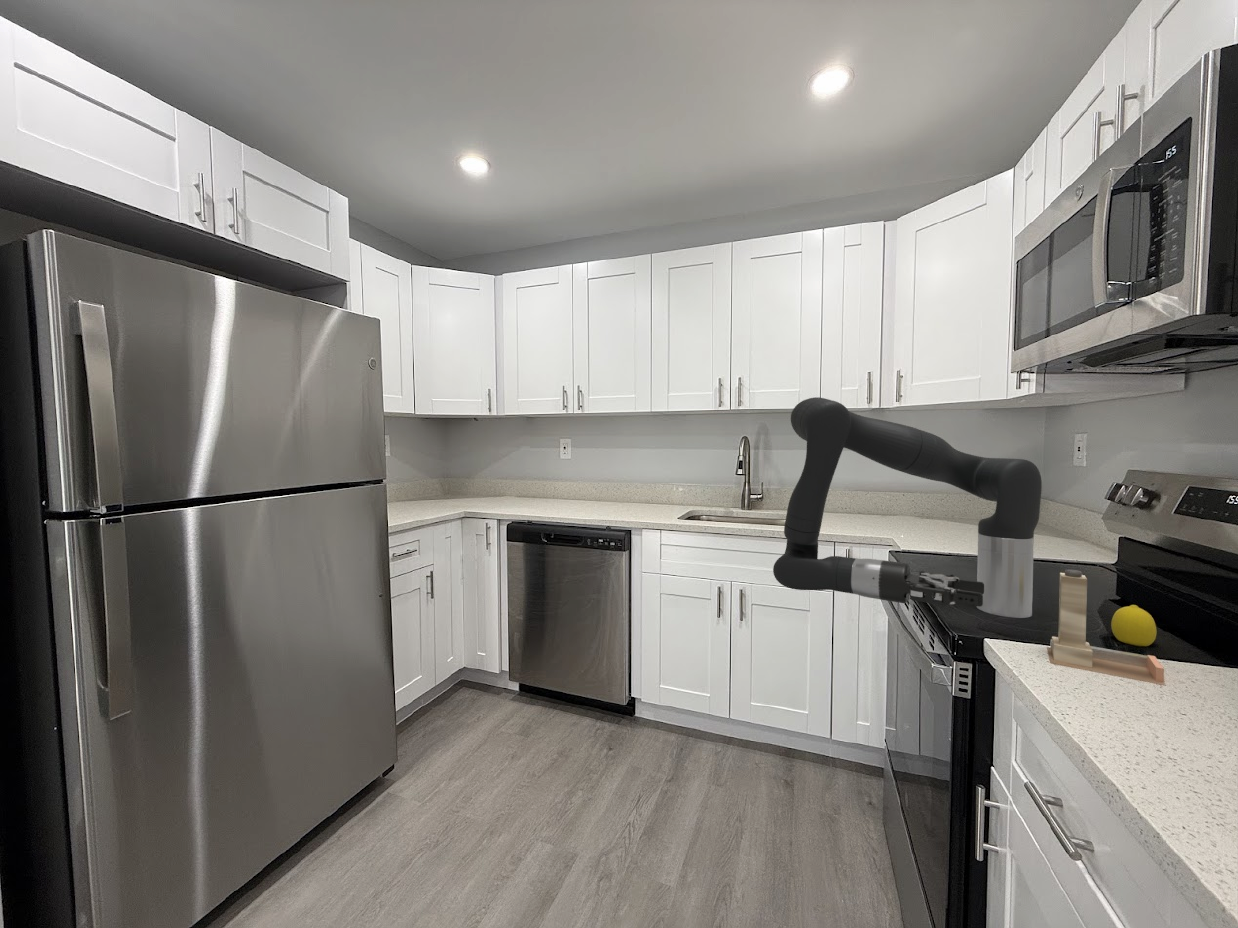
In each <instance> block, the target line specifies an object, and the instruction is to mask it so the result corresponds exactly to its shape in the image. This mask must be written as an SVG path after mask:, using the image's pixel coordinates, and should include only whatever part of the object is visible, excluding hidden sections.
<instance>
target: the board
mask: <svg viewBox="0 0 1238 928" xmlns="http://www.w3.org/2000/svg"><path fill="white" fill-rule="evenodd" d="M1046 650H1047V655H1048V656H1047V657H1048V659H1049V660H1048V661H1049V663H1050V664H1052V665H1057V666H1062V667H1067V668H1073V669H1077V670H1078V669H1079V670H1083V671H1089V672H1093V673H1098V674H1103V675H1107V676H1114V677H1119V678H1124V679H1130V680H1134V681H1138V682H1139V681H1140V682H1146V683H1150V684H1154V685H1155V684H1156V685H1158V686H1159V685H1160V686H1167V685H1166V684H1165V681H1164V682H1160V681H1156V680H1155V679H1154V677H1153V676H1152V674H1151V673H1150V671H1149V670H1148V668H1146V667H1141V666H1135V665H1130V664H1124V663H1119V662H1113V661H1108V660H1102V659H1097V658H1092V667H1087V666H1082V665H1077V664H1071V663H1066V662H1061V661H1055V660H1054V658H1053V655H1052V650H1051V648H1050V647H1048V646H1046Z"/></svg>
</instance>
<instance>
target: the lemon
mask: <svg viewBox="0 0 1238 928" xmlns="http://www.w3.org/2000/svg"><path fill="white" fill-rule="evenodd" d="M1110 624H1111V631H1112V633H1113V636H1114V637H1115V638H1116V640H1118V642H1122V643H1125V644H1127V645H1131V646H1137V647H1149V646H1150V645H1152V644H1153V643H1154V641H1155V640H1156V638H1157V624H1156V622H1155V620H1154V618H1153V617H1152V615H1151V614H1150V613H1149V612H1148V611H1147V610H1144V609H1143V608H1141V607H1139V606H1138V605H1136V604H1130V605H1129V606H1128V605H1127V606H1123V607H1120V608H1119V609H1117V610H1116V611H1114V614H1113V615H1112V619H1111V622H1110Z"/></svg>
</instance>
